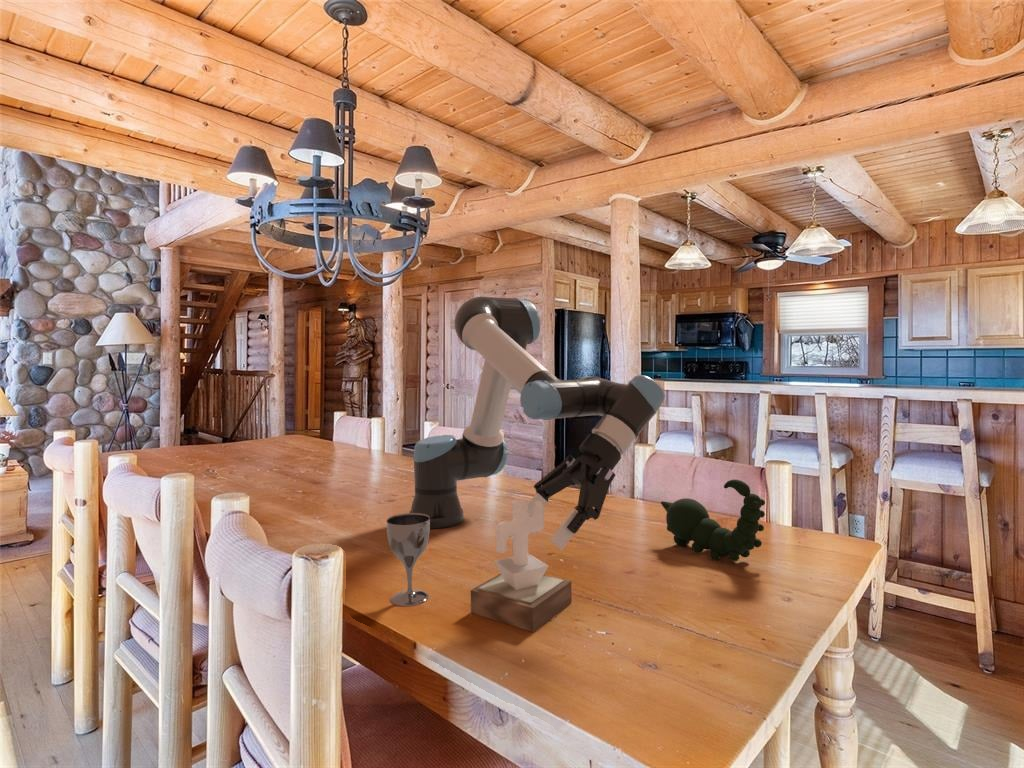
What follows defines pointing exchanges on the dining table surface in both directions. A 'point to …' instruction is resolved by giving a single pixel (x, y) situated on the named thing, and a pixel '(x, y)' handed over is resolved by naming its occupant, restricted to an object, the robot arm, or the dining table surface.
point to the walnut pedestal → (521, 601)
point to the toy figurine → (716, 525)
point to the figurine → (520, 546)
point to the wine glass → (408, 550)
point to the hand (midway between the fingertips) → (537, 534)
